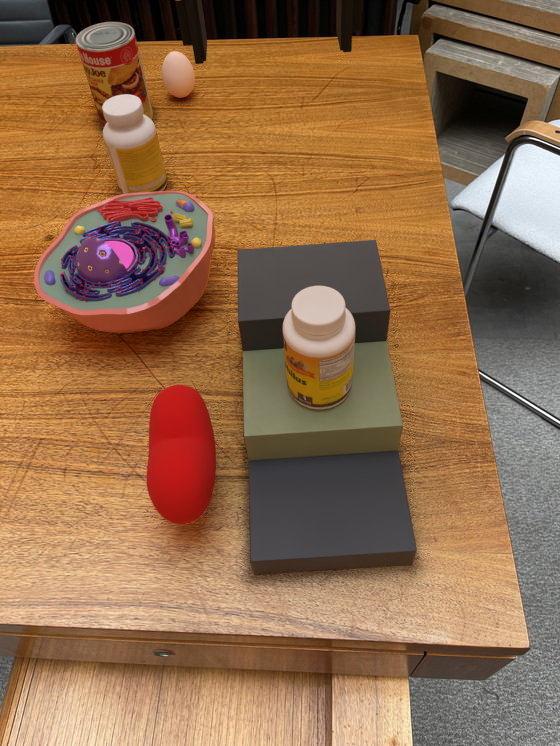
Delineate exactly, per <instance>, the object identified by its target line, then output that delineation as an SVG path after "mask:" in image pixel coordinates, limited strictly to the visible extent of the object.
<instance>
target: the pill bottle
mask: <svg viewBox="0 0 560 746" xmlns="http://www.w3.org/2000/svg"><path fill="white" fill-rule="evenodd" d="M102 110H103V114H104V118H105V120H106V121H107V123H106V125H105V127H104V128H103V130H102V138H103V142H104V146H105V149H106V152H107V154H108V159H109V161H110V164H111V167H112V170H113V173H114V177H115V180H116V183H117V186H118V189H119V191H120V192H121V194H127V193H141V192H156V191H165V189H166V187H167V185H168V176H167V171H166V170H167V169H166V166H165V162H164V157H163V153H162V150H161V145H160V141H159V137H158V132H157V129H156V128H157V127H156V125H155V123H154V121H153V120H151V119H150V118H149V117H147V116H146V115H144V109H143V106H142V102H141V100H140V99H139V98H138V97H137V96H134V95H130V94H124V95H117V96H114V97H112V98H110V99H108V100H107V101H105V102H104V104H103V106H102Z"/></svg>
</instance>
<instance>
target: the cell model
mask: <svg viewBox="0 0 560 746" xmlns="http://www.w3.org/2000/svg"><path fill="white" fill-rule="evenodd" d="M215 247H216V228H215V218H214V213H213V211H212V210H211V208H210V207H208V206H207V205H206V204H205V203H204V202H202V201H201V200H200V199H199V198H198V197H196V196H195V195H193V194H191V193H189V192H186V191H181V190H163V191H156V192H141V193H127V194H122V193H121V194H117V195H115V196H112V197H109V198H107V199H104V200H102V201H100V202H96V203H94V204H91V205H89V206H88V205H87V206H86V207H84V208H82V209H81V210H78V211H77V212H75V213H74V214H73V215H71V217H69V219H68V221H67V222H66V224H65V225H64V227H63V229H62V230H61V232H60V233H59V235H58V236H57V238H56V239H55V240H54V241H53V242H52V243H51V244H50V245H49V246H48V247H47V248H46V250H44V251H43V253H42V254H41V255H40V258H39V259H38V261H37V263H36V265H35V268H34V274H33V283H34V288H35V291H36V294H37V295H38V296H39V297H40V298H41V299H42V300H44V301H46V302H47V303H48V304H50V305H52V306H54V307H55V308H58V309H59V310H60V311H62V312H63V313H65V314H67V315H68V316H69V317H71V318H72V319H73V320H75V321H76V322H78V323H80V324H81V325H84V326H85V327H87V328H90V329H92V330H96V331H99V332H102V333H103V332H104V333H114V334H115V333H117V334H119V333H120V334H123V333H127V334H129V333H141V332H148V331H149V332H150V331H155V330H161V329H164V328H167V327H169V326H171V325H173V324H175V323H176V322H177V321H179V320H180V319H181V318H182V317H184V316H185V315H186V314H187V313H188V312H189V311H190V310H191V309H192V308H193V307H194V306H195V305H196V304H197V303H198V302H199V301H200V300H201V298H202V297H203V295H204V294H205V292H206V289H207V286H208V284H209V283H208V282H209V280H210V272H211V261H212V257H213V252H214V250H215Z"/></svg>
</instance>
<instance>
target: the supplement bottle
mask: <svg viewBox="0 0 560 746" xmlns="http://www.w3.org/2000/svg"><path fill="white" fill-rule="evenodd" d="M283 342H284V353H285V366H286V378H287V386H288V389H289V392H290V394H291V395H292V397H293V398H294V399H295V400H296V401H297V402H298V403H300V404H301V405H303V406H305V407H308V408H312V409H327V408H331V407H334V406H336V405H338V404H340V403H341V402H342V401H343V400H344V399H345V398H346V397H347V396H348V394H349V392H350V390H351V387H352V378H353V364H354V346H355V321H354V318H353V316H352V314H351V313H350V311H349V310H348V309H347V308H346V307H345V300H344V298H343V297H342V295H341V294H340V293H339V292H338V291H336V290H335V289H333V288H330V287H327V286H311V287H308V288H305V289H303V290H301V291H300V292H299V293H297V294H296V296H295V297H294V299H293V301H292V309H291V310H290V311H289V312H288V313H287V315H286V316H285V319H284V322H283Z"/></svg>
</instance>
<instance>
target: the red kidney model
mask: <svg viewBox="0 0 560 746" xmlns="http://www.w3.org/2000/svg"><path fill="white" fill-rule="evenodd" d="M212 424H213V423H212V420H211V416H210V412H209V410H208V407H207V403H206V402H205V399H204V398H203V396H202V395H201V394H200V393H199V391H197V390H196V389H195V388H193V387H191V386H189V385H186V384H185V385H184V384H173V385H170V386H168V387H166V388H164V389H162V390H161V391H159V393H158V394H157V395H156V396H155V398H154V399H153V402H152V404H151V408H150V413H149V425H148V457H147V466H146V489H147V494H148V496H149V499H150V501H151V503H152V505H153V507H154V509H155V510H156V512H157V513H158V514H159V515H160V516H161V517H162V518H163V519H164V520H166V521H167V522H169V523H171V524H174V525H178V526H179V525H183V526H184V525H189V524H192V523H194V522H196V521H198V520H199V519H200V518H201V517H202V516H203V515H204V514H205V512H206V511H207V510H208V507H209V505H210V503H211V500H212V498H213V494H214V488H215V483H216V475H217V450H216V440H215V439H216V438H215V434H214V429H213V425H212Z"/></svg>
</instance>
